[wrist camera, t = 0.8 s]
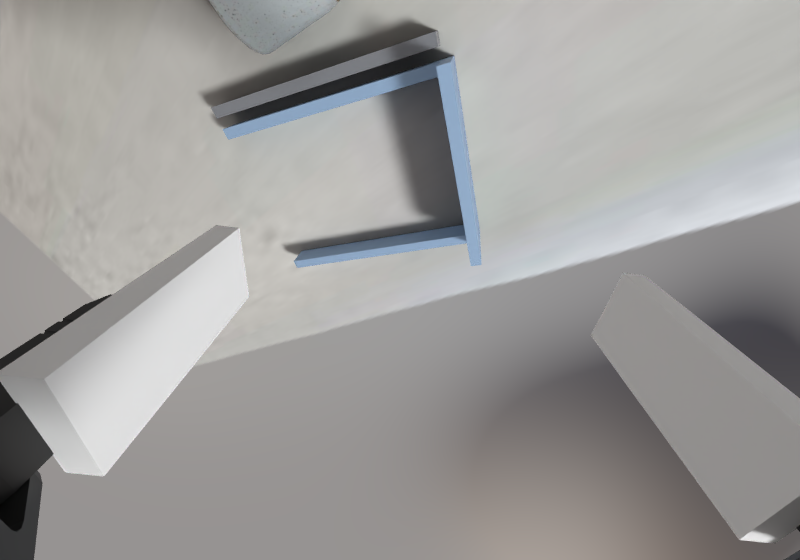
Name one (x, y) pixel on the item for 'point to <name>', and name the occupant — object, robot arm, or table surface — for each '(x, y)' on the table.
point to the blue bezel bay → (459, 151)
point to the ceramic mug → (269, 19)
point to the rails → (330, 74)
